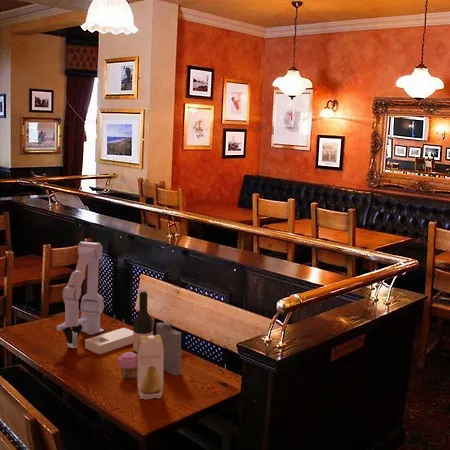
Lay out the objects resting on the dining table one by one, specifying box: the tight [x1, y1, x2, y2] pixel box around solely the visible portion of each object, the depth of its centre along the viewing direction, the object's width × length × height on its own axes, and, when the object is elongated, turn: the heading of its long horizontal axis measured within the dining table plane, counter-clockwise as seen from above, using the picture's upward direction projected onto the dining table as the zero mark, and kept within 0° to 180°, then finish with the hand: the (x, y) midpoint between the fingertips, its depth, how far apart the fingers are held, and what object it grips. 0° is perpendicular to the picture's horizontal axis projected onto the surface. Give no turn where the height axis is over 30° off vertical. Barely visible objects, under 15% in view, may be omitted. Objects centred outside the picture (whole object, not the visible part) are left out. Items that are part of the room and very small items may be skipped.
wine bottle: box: [132, 290, 154, 354], centre depth 256 cm, size 8×8×30 cm
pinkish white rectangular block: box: [67, 330, 78, 349], centre depth 267 cm, size 4×2×7 cm, turn 49°
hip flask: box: [155, 321, 182, 376], centre depth 248 cm, size 16×4×20 cm, turn 39°
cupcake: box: [117, 351, 137, 380], centre depth 240 cm, size 9×9×10 cm
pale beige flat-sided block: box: [84, 327, 133, 355], centre depth 272 cm, size 10×22×4 cm, turn 139°
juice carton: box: [136, 334, 164, 400], centre depth 223 cm, size 9×8×24 cm
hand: (72, 342), depth 267 cm, fingers closed on pinkish white rectangular block, 2 cm apart
